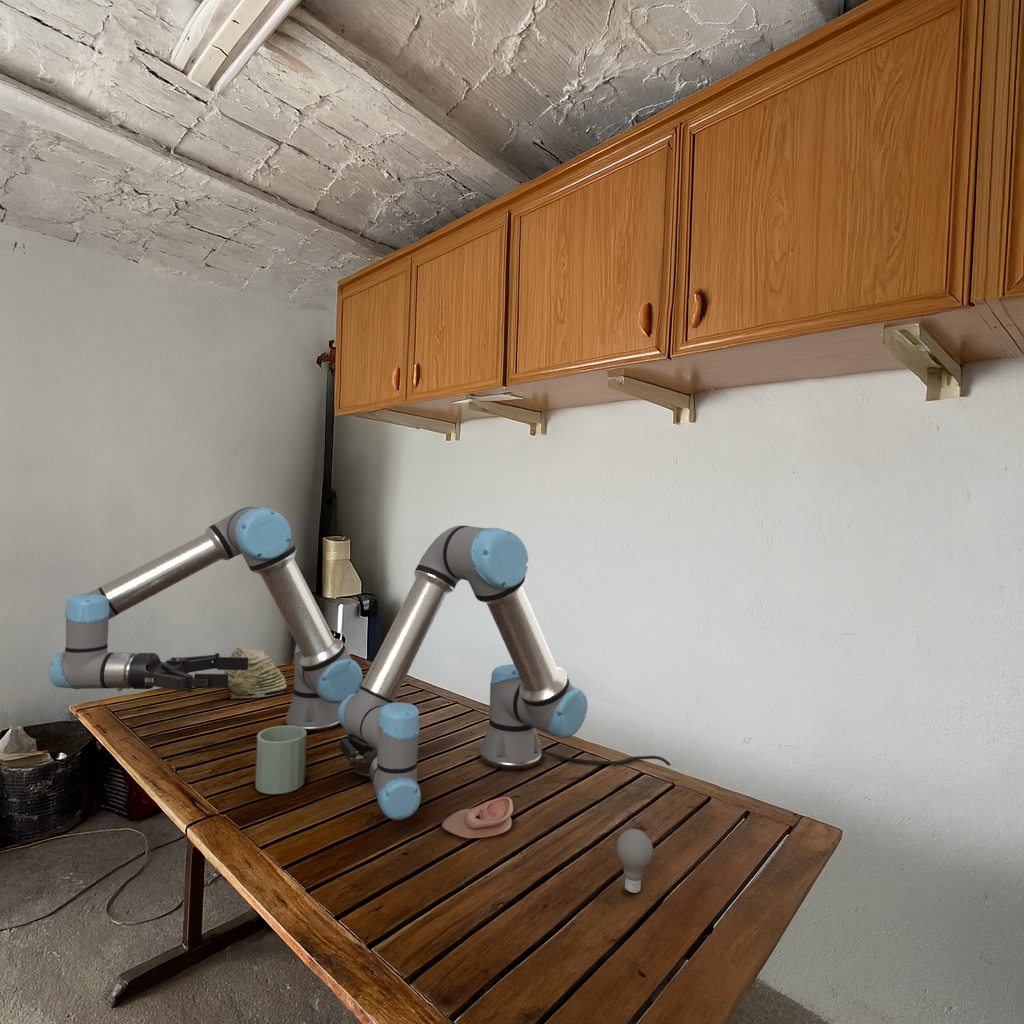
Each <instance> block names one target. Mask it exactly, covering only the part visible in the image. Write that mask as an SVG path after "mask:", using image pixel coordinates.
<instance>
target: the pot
mask: <svg viewBox="0 0 1024 1024" xmlns="http://www.w3.org/2000/svg"><path fill="white" fill-rule="evenodd" d="M307 737H308V732H306V730H305V729H303V728H301V727H298V726H286V725H277V726H276V725H275V726H271V727H267V728H264V729H262V730H261V731H259V732H258V733H257V734H256V739H255V740H256V741H255V768H254V769H255V771H254V788H255V789H256V790H257V792H260V793H262V794H267V795H281V794H287V793H290V792H294V791H296V790H298V789H300V788H302V787H303V785H304V784H305V779H306V765H307V763H306V761H307V739H308V738H307Z"/></svg>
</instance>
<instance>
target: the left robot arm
mask: <svg viewBox="0 0 1024 1024" xmlns="http://www.w3.org/2000/svg"><path fill="white" fill-rule="evenodd" d="M296 553H297V547H296V545H295V544H294V541H293V540H292V529H291V527H290V524H289V522H288V520H287V519H286V518H285V517H284V516H283V515H282V514H281V513H279V512H278V511H276V510H273V509H271V508H268V507H256V506H246V507H243V508H239V509H238V510H236V511H234V512H232V513H231V514H229V515H227V516H226V517H224V518H223V519H221V520H219V521H216V522H215V523H213V524H211V525H210V526H208V527H206V529H205V532H204V533H203V534H201V535H199V536H196V537H195V538H193V539H192V540H189V541H187V542H186V543H184V544H182V545H180V546H177V547H176V548H174V549H172V550H170V551H168V552H165V553H164V554H162V555H160V556H157V557H155V558H154V559H152V560H150V561H149V562H146V563H143V565H141V566H138V567H136V568H134V569H133V570H131V571H129V572H127V573H124V574H123V575H121V576H119V577H117V578H115V579H113V580H111V581H109V582H107V583H105V584H102V586H100V587H97V588H96V589H93V590H91V591H89V592H88V593H83V594H79V595H74V596H72V597H69V598H68V600H67V602H66V608H65V611H64V614H65V615H64V616H65V648H64V651H60V652H58V653H57V654H55V656H54V657H53V658H52V660H51V662H50V667H49V671H48V678H49V680H50V682H51V684H52V685H53V686H54V687H56V688H61V689H62V688H63V689H73V690H82V689H83V690H89V689H95V690H97V689H98V690H99V689H109V690H113V689H116V691H117V692H121V691H122V690H125V689H126V690H129V689H133V690H151V689H152V688H154V687H157V688H161V689H167V690H171V691H177V692H185V691H186V693H193V688H194V689H226V688H228V678H229V674H224V673H196V672H201V671H207V670H215V669H216V670H217V671H225V670H248V658H246V657H231V656H220V653H219V652H216V653H215V654H208V655H196V656H185V657H184V656H183V657H176V656H175V657H173V656H172V657H171V658H170V659H166V660H165V661H161V659H160V656H159V655H158V654H157V653H155V652H138V653H137V652H131V651H129V652H125V651H124V652H121V651H120V652H115V651H114V652H110V651H108V647H109V642H108V641H109V626H110V625H109V623H110V622H109V620H111V619H113V618H115V617H116V616H118V615H120V614H121V613H123V612H125V611H127V610H129V609H131V608H133V607H135V606H136V605H139V604H140V603H142V602H144V601H147V600H148V599H149V598H152V597H154V596H156V595H157V594H159V593H161V592H163V591H164V590H167V589H168V588H170V587H172V586H174V585H176V584H178V583H180V582H181V581H183V580H185V579H187V578H189V577H191V576H193V575H195V574H197V573H198V572H200V571H202V570H204V569H206V568H208V567H210V566H212V565H213V564H215V563H217V562H219V561H221V560H222V561H229V560H231V559H233V558H235V557H237V556H240V555H241V556H242V557H243V559H244V561H245V563H246V565H247V567H248V568H249V570H250V572H251V573H254V574H258V575H260V577H261V578H262V580H263V582H264V584H265V586H266V588H267V590H268V592H269V594H270V596H271V598H272V600H273V601H274V602H275V606H276V607H277V609H278V611H279V613H280V615H281V617H282V618H283V620H284V622H285V624H286V626H287V628H288V631H289V632H290V633H291V636H292V638H293V639H294V641H295V643H296V645H295V650H294V651H295V652H294V653H293V654H294V655H293V656H294V672H293V673H294V674H293V695H292V696H293V697H292V699H291V702H290V704H289V708H288V711H287V713H286V715H285V726H298V727H301V728H303V729H305V730H306V732H307V733H316V732H325V731H329V730H332V729H335V728H337V727H339V726H340V725H341V724H340V722H339V719H338V710H339V706H340V704H341V703H342V701H343V700H344V699H346V698H347V697H348V696H349V695H351V694H356V693H357V692H358V690H359V689H360V687H361V685H362V683H363V672H362V668H361V667H360V665H359V664H358V662H357V661H356V660H354V659H352V657H351V655H350V653H349V651H348V650H347V647H346V645H345V643H344V641H343V640H342V639H339V638H335V637H334V635H333V633H332V631H331V629H330V627H329V625H328V624H327V622H326V619H325V617H324V616H323V613H322V611H321V610H320V607H319V606H318V604H317V602H316V600H315V597H314V595H313V593H312V592H311V589H310V587H309V586H308V584H307V582H306V580H305V578H304V575H303V573H302V572H301V570H300V568H299V566H298V564H297V562H296V560H295V556H296ZM190 673H194V674H193V675H192V674H190Z"/></svg>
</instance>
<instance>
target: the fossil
mask: <svg viewBox="0 0 1024 1024" xmlns="http://www.w3.org/2000/svg"><path fill="white" fill-rule="evenodd" d="M230 657H246V658H248V670H224V671H223V674H229V678H228V688H225V690H226V691H228V693H229V698H230V699H250V698H264V697H271V696H275V695H281V694H284V693H285V691H286V689H287V687H288V686H287V680H286V678H285V676H284V674H283V673H282V672H281V669H279V668H278V667H277V665H276V663H275V662H274V660H273V659H272V658H271V657H270V656H269V655H268V654H267V653H266V652H265V650H264V649H263V648H260V647H258V648H251V647H247V646H246V647H245V646H238V647H237V648H236V649H235V650H233V651H232V653H231V656H230Z"/></svg>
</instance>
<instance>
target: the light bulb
mask: <svg viewBox="0 0 1024 1024" xmlns="http://www.w3.org/2000/svg"><path fill="white" fill-rule="evenodd" d="M615 849H616V854H617V857H618V859H619V861H620V863H621V865H622V867H623V873H624V874H623V875H624V876H625V878H624V888H625V890H627V891H628V892H630V893H634V894H635V893H639V892H640V891H641V889H642V887H641V886H642V879H643V877H644V875H645V871H646V868H647V867H648V866H649V864H650V863H651V861H652V859H653V855H654V847H653V843H652V841H651V838H649V836H648V835H647V834H646V833H645V832H643V831H642V830H641V829H636V828H629V829H627V830H625V831H623V832H622V833H621V834H620V835H619V837H618V839H617V841H616V847H615Z"/></svg>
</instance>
